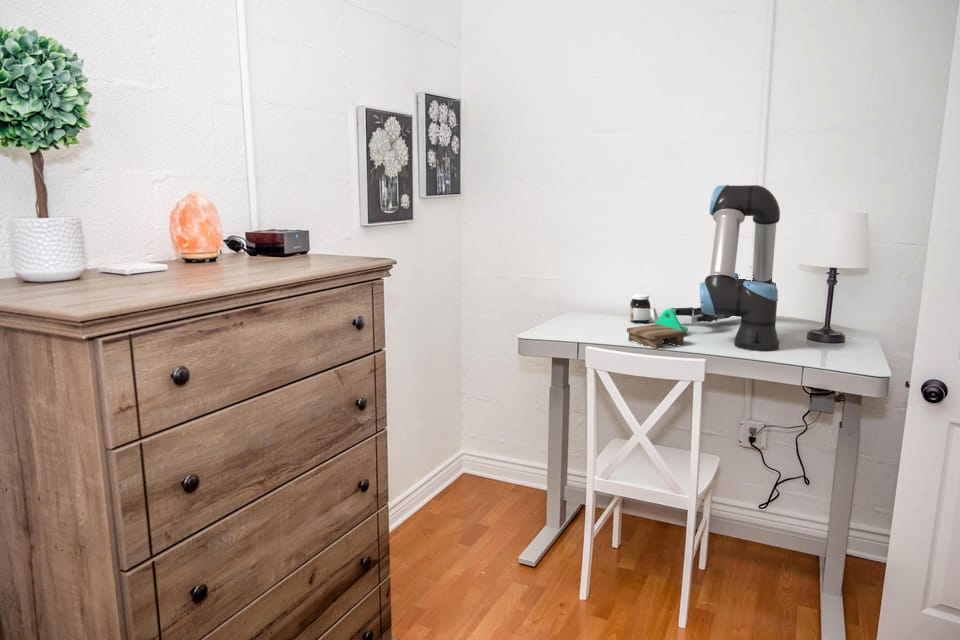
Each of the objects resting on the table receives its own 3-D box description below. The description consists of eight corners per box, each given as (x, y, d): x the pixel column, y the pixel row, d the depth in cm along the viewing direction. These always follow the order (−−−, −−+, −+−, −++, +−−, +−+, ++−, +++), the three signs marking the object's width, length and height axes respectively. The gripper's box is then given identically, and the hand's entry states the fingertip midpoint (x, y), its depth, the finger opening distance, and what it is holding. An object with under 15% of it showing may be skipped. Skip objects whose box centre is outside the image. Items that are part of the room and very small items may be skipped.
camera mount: (688, 333, 271) (689, 308, 269) (681, 337, 265) (683, 311, 263) (658, 330, 278) (660, 305, 276) (651, 333, 272) (653, 308, 270)
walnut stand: (685, 344, 253) (685, 331, 252) (654, 349, 246) (654, 335, 245) (656, 336, 265) (657, 324, 264) (626, 341, 259) (627, 328, 258)
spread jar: (627, 319, 298) (628, 293, 296) (653, 319, 299) (654, 293, 296) (635, 325, 286) (636, 298, 284) (661, 325, 287) (663, 297, 285)
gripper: (737, 325, 275) (701, 331, 264) (687, 315, 296) (653, 321, 284) (738, 307, 274) (702, 312, 262) (688, 298, 294) (653, 303, 283)
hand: (676, 317), depth 273 cm, fingers open, 13 cm apart
